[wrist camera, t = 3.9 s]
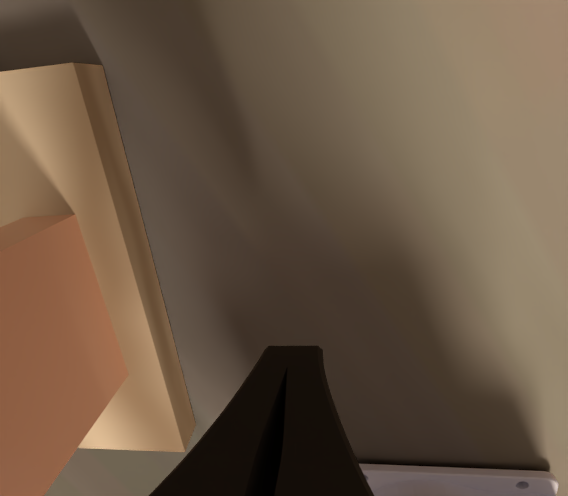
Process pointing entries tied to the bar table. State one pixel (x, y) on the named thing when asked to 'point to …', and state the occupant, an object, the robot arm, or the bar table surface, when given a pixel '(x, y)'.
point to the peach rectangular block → (50, 351)
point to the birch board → (96, 237)
